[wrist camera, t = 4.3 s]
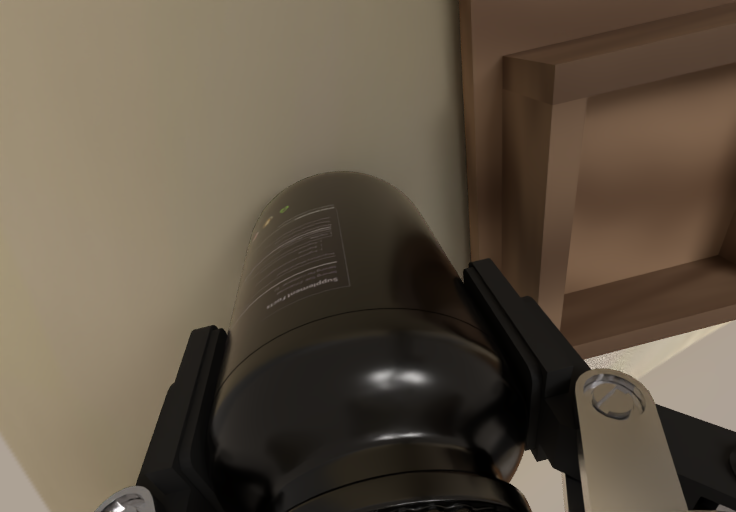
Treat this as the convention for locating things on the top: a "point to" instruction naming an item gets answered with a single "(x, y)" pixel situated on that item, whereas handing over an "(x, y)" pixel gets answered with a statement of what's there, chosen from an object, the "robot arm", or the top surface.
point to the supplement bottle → (360, 367)
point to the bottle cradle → (605, 161)
